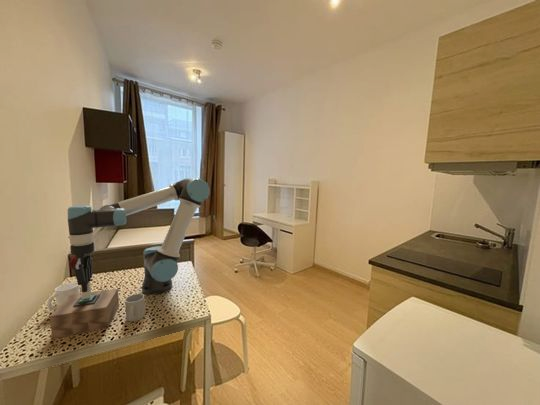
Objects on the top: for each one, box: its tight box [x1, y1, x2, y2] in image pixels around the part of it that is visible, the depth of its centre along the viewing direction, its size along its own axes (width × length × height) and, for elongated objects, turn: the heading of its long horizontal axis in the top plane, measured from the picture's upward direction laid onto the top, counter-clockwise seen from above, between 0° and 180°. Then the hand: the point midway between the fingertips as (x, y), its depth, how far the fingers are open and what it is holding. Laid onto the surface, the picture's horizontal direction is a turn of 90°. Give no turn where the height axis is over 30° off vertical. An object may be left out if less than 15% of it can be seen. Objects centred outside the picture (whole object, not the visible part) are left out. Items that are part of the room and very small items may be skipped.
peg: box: [79, 295, 95, 304], centre depth 95 cm, size 4×4×9 cm
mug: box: [46, 281, 81, 311], centre depth 104 cm, size 12×8×10 cm
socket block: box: [49, 288, 120, 339], centre depth 96 cm, size 18×16×10 cm
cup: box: [124, 293, 146, 323], centre depth 97 cm, size 7×10×9 cm
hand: (86, 297), depth 95 cm, fingers closed
